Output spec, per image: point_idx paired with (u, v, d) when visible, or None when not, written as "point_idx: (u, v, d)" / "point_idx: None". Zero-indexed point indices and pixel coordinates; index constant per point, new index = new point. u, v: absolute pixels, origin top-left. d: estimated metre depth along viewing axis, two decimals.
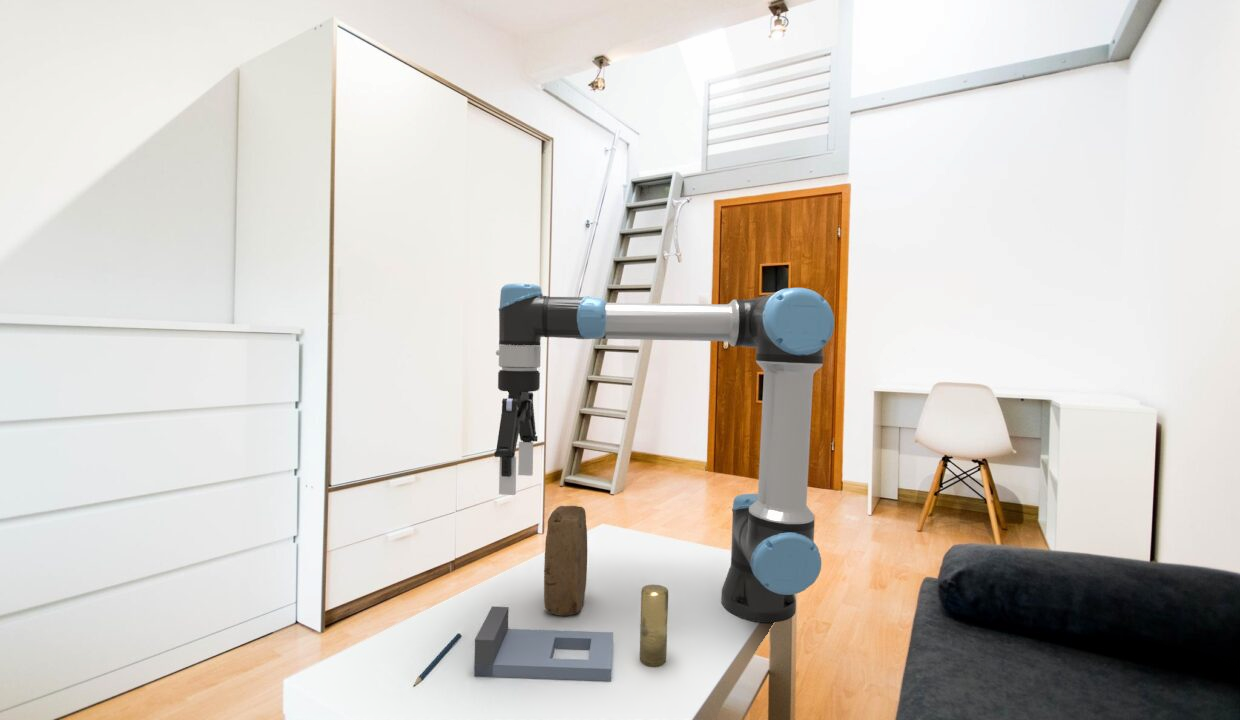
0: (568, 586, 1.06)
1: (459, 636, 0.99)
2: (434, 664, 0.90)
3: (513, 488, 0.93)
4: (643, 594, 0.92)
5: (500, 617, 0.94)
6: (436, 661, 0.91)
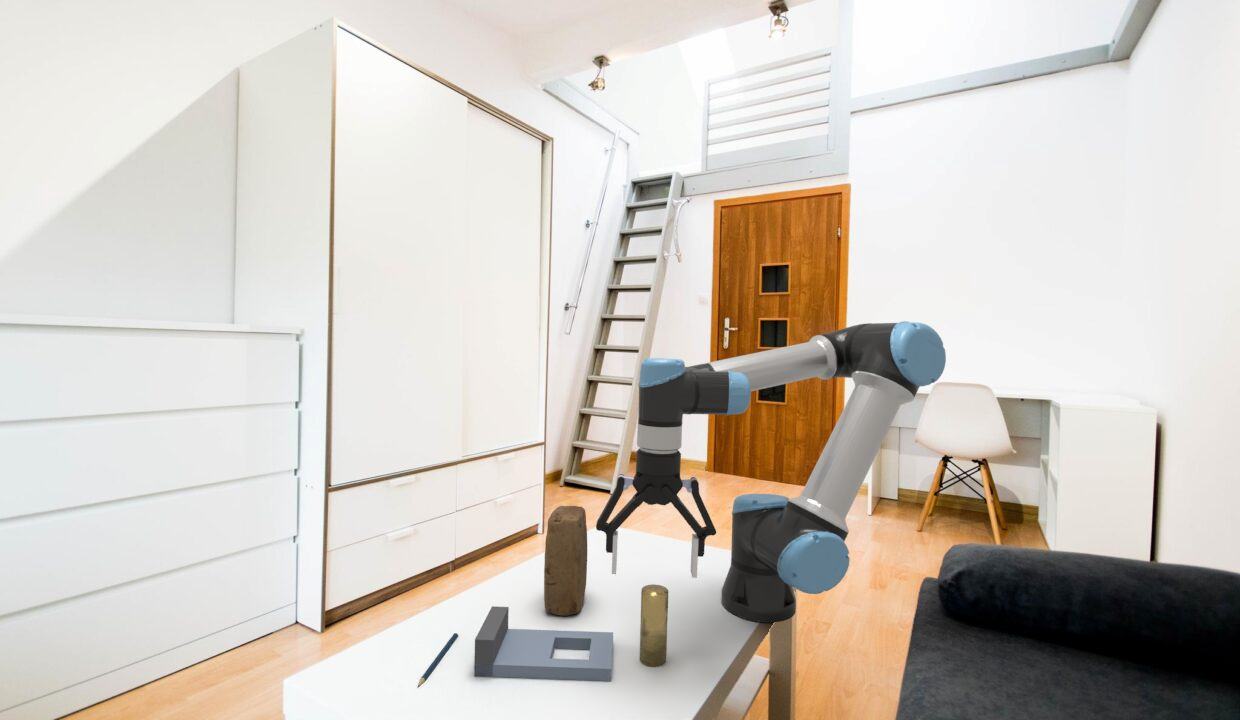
0: (568, 586, 1.06)
1: (456, 636, 0.99)
2: (435, 664, 0.90)
3: (612, 567, 0.92)
4: (643, 594, 0.92)
5: (500, 617, 0.94)
6: (437, 661, 0.91)
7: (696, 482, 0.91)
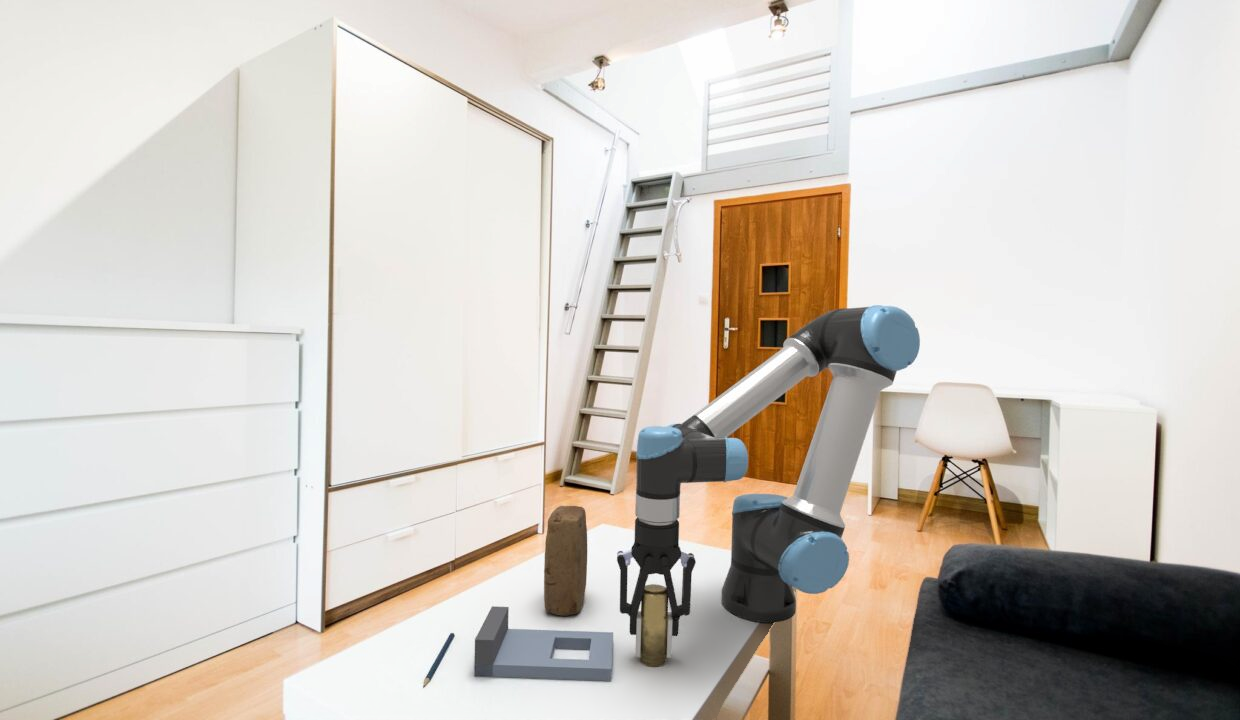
0: (568, 586, 1.06)
1: (453, 636, 0.99)
2: (437, 664, 0.90)
3: (636, 649, 0.93)
4: (643, 594, 0.92)
5: (500, 617, 0.94)
6: (438, 661, 0.91)
7: (694, 561, 0.92)
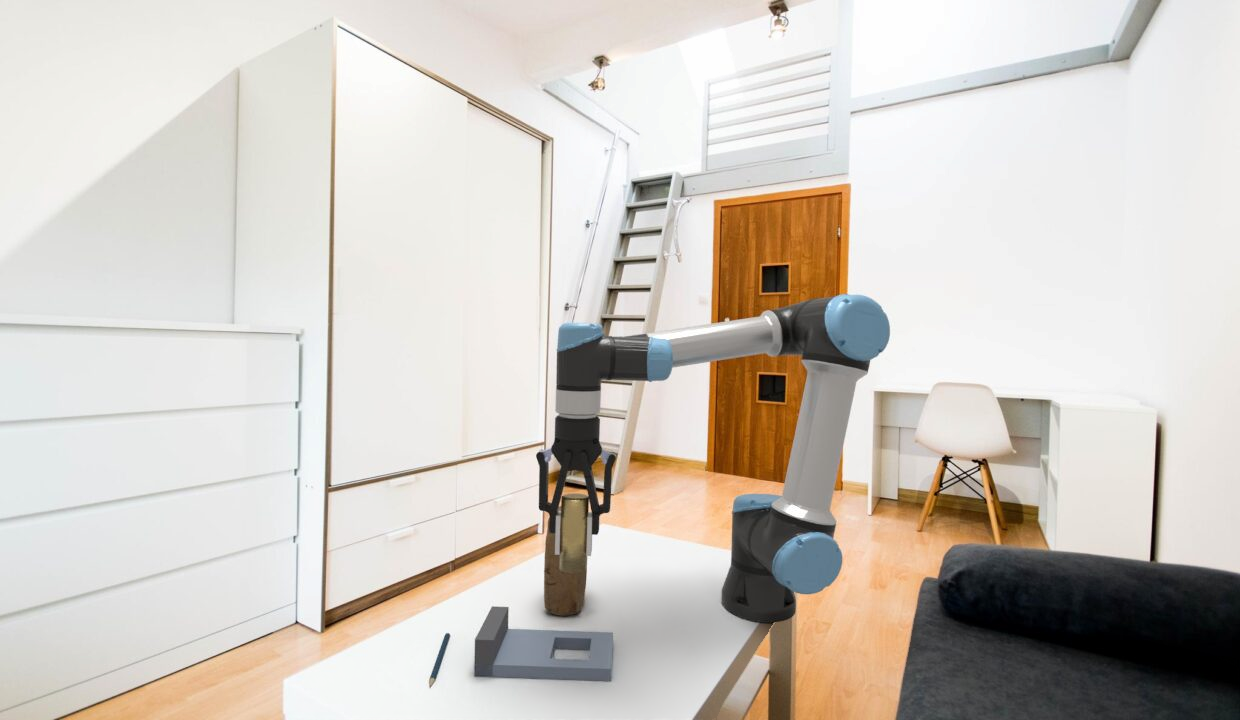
0: (568, 586, 1.06)
1: (449, 636, 0.99)
2: (439, 664, 0.90)
3: (555, 547, 0.91)
4: (562, 500, 0.91)
5: (500, 617, 0.94)
6: (440, 661, 0.91)
7: (614, 457, 0.90)
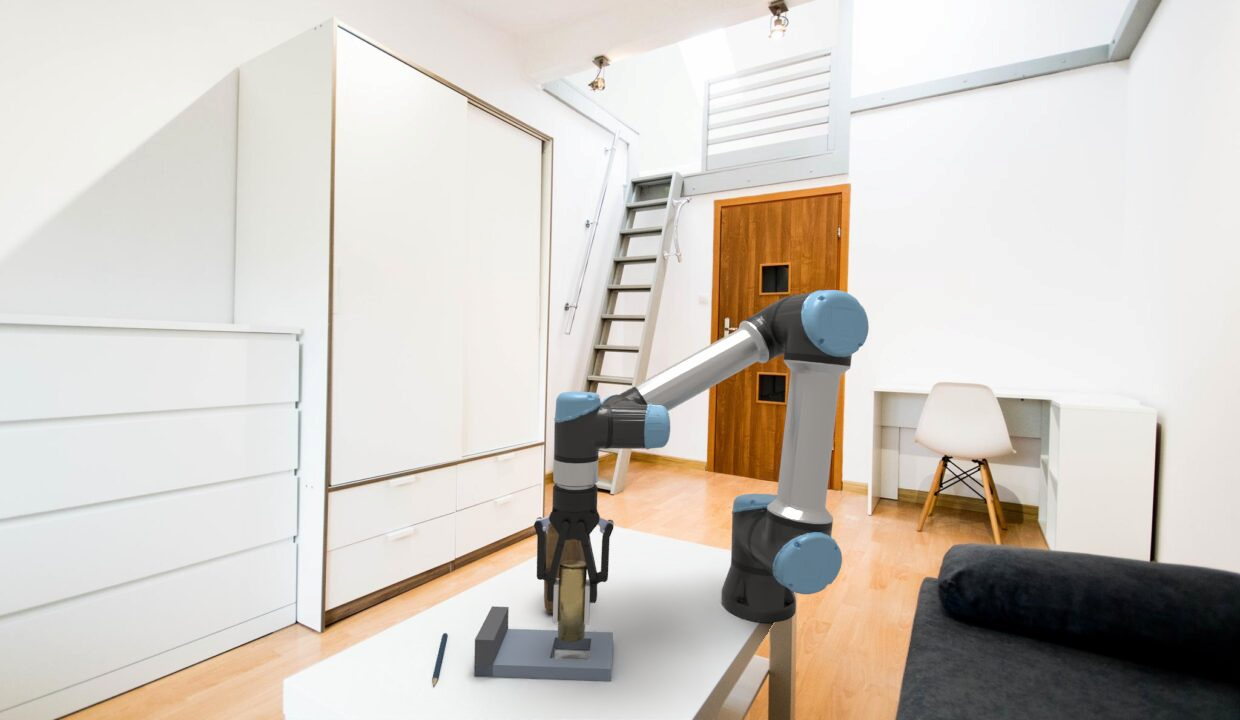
0: None
1: (447, 636, 0.99)
2: (440, 664, 0.90)
3: (553, 616, 0.92)
4: (560, 569, 0.91)
5: (500, 617, 0.94)
6: (440, 661, 0.91)
7: (611, 527, 0.91)
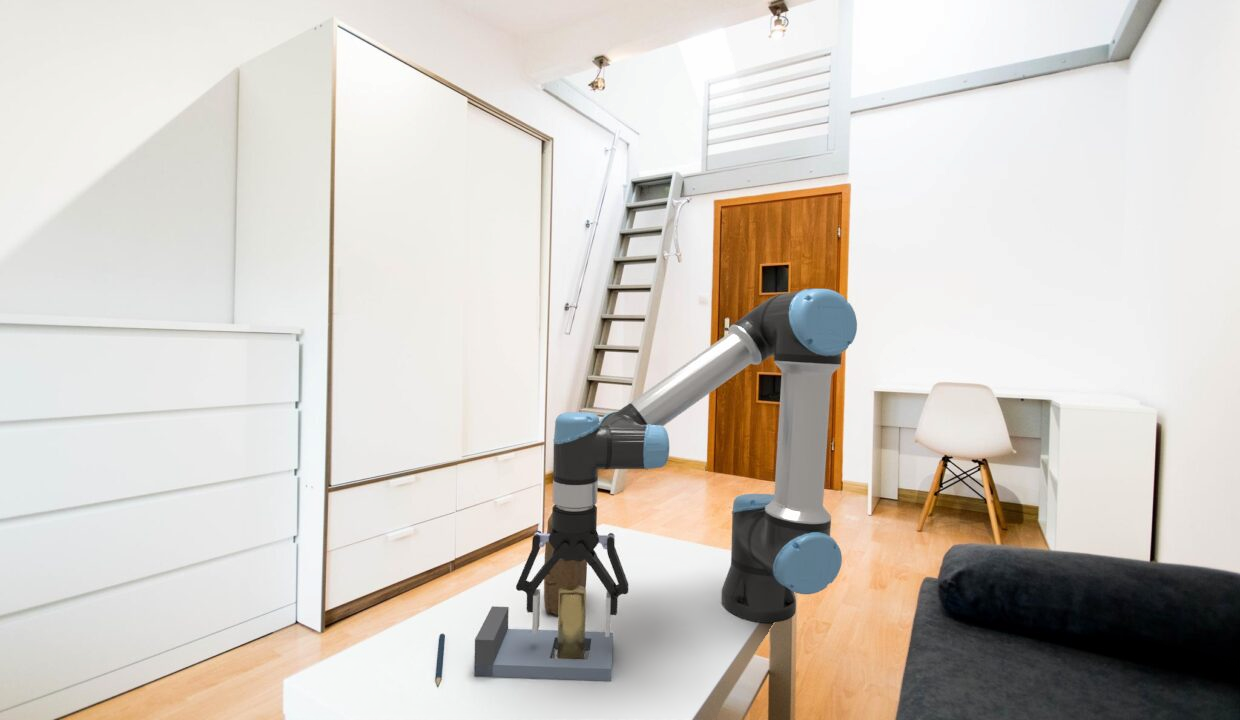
0: None
1: (444, 636, 0.99)
2: (441, 664, 0.90)
3: None
4: (559, 594, 0.91)
5: (500, 617, 0.94)
6: (441, 661, 0.91)
7: (612, 540, 0.91)
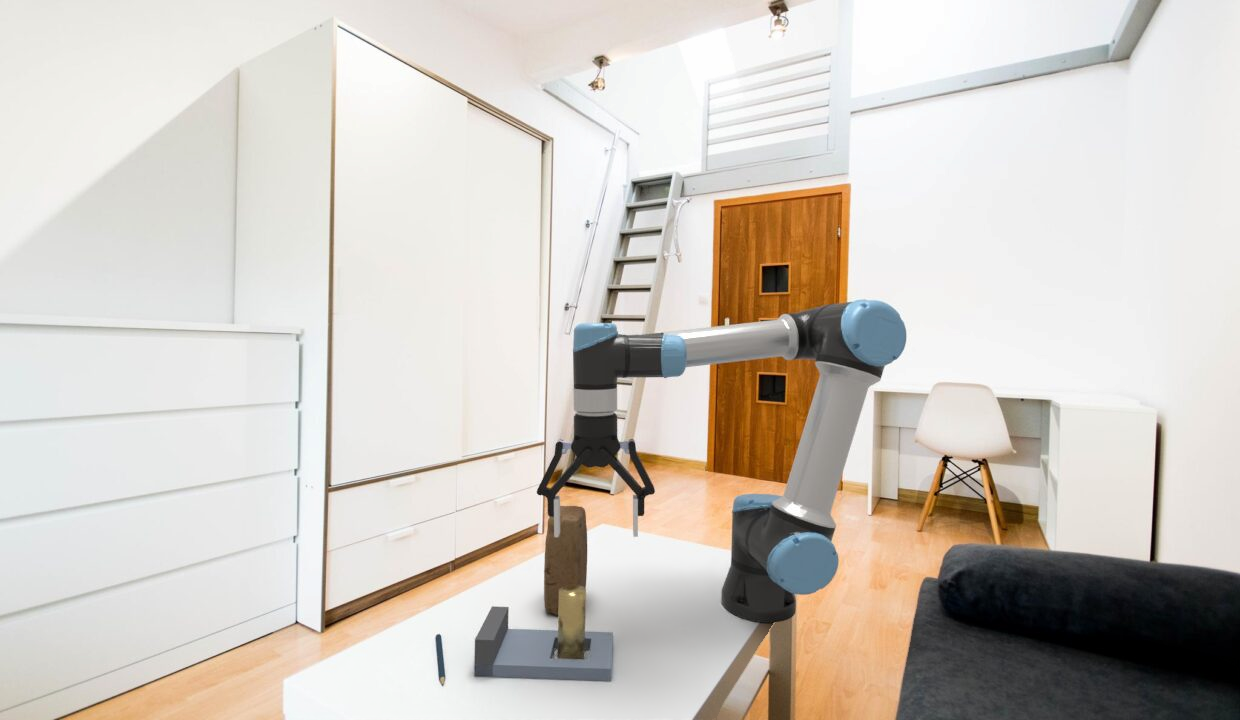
0: None
1: (440, 636, 0.98)
2: (443, 663, 0.90)
3: (554, 530, 0.94)
4: (560, 594, 0.91)
5: (500, 617, 0.94)
6: (442, 660, 0.91)
7: (633, 443, 0.93)
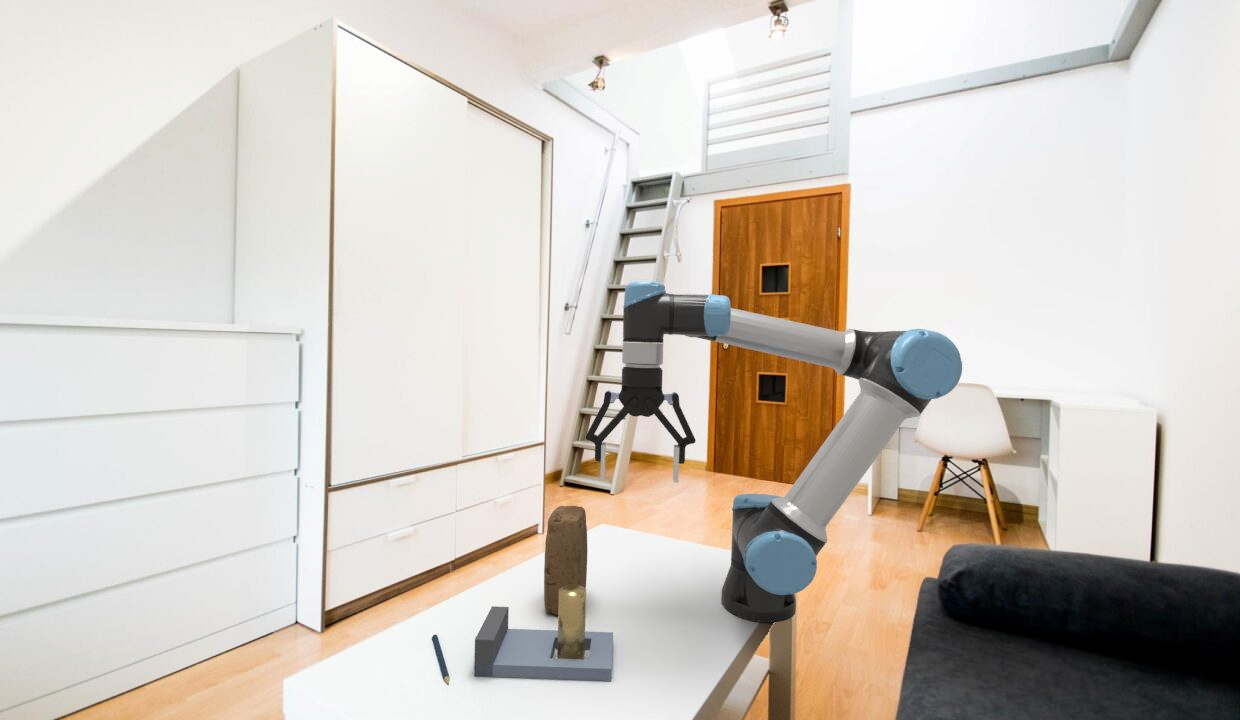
0: None
1: (437, 637, 0.98)
2: (444, 663, 0.90)
3: None
4: (559, 594, 0.91)
5: (500, 617, 0.94)
6: (443, 660, 0.91)
7: (676, 395, 1.00)
